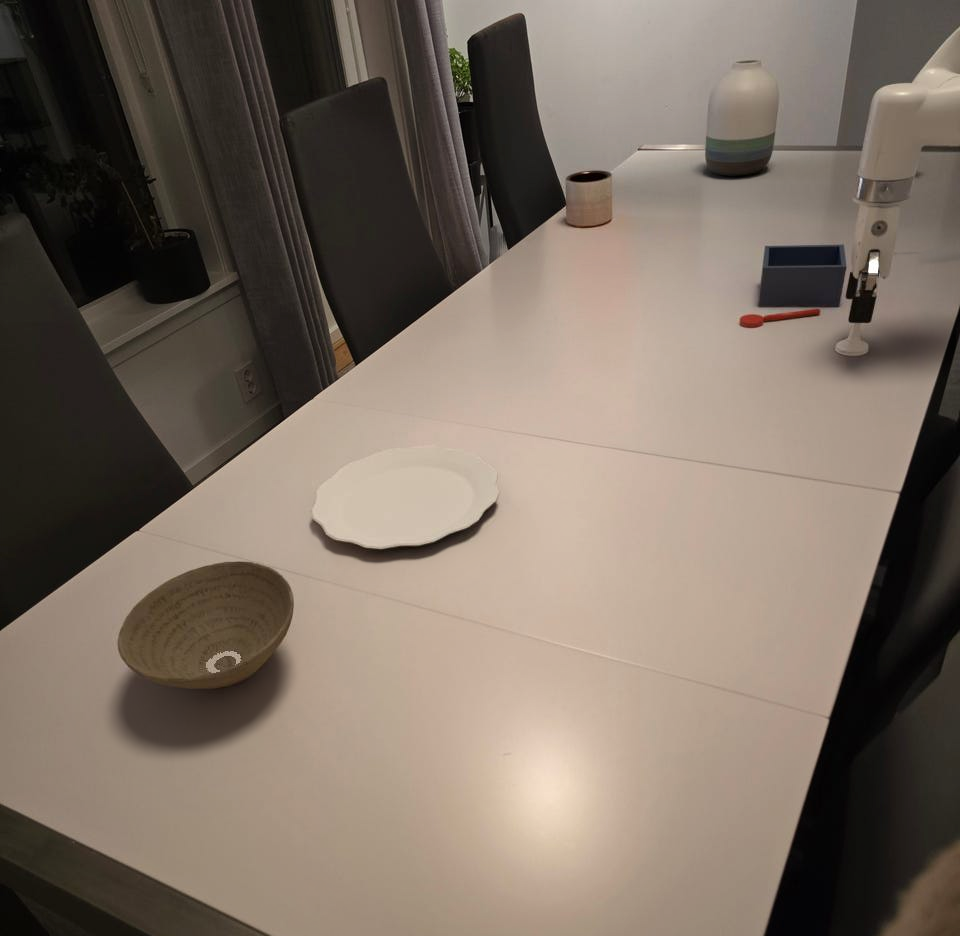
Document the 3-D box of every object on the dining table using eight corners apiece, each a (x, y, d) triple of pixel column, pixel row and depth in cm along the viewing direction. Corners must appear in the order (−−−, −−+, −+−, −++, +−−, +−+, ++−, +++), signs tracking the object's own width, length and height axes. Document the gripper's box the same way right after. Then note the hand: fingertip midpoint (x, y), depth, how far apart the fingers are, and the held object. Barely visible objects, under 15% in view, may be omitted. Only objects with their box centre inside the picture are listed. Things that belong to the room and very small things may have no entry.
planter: (561, 228, 197) (559, 183, 190) (572, 214, 204) (571, 170, 198) (607, 227, 193) (607, 182, 187) (616, 213, 201) (616, 169, 194)
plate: (438, 577, 99) (436, 564, 98) (277, 535, 110) (273, 522, 109) (531, 474, 115) (530, 461, 114) (382, 445, 125) (380, 433, 124)
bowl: (111, 725, 86) (78, 670, 81) (187, 611, 99) (164, 557, 94) (277, 737, 82) (254, 680, 77) (333, 617, 96) (317, 561, 90)
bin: (836, 283, 155) (843, 244, 150) (839, 306, 147) (846, 266, 142) (760, 283, 158) (764, 245, 154) (758, 306, 150) (763, 267, 146)
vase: (758, 160, 224) (770, 52, 208) (780, 175, 211) (794, 61, 195) (696, 168, 224) (702, 60, 208) (713, 183, 211) (722, 70, 195)
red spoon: (815, 310, 147) (816, 304, 146) (824, 318, 144) (825, 312, 143) (736, 320, 147) (737, 314, 146) (743, 328, 144) (744, 323, 143)
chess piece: (835, 342, 136) (847, 279, 129) (868, 343, 135) (881, 280, 128) (834, 355, 133) (846, 291, 126) (867, 356, 131) (881, 292, 125)
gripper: (918, 205, 111) (888, 332, 122) (906, 172, 123) (879, 290, 135) (857, 206, 113) (833, 331, 124) (851, 173, 125) (830, 289, 136)
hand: (857, 310), depth 129 cm, fingers open, 9 cm apart
